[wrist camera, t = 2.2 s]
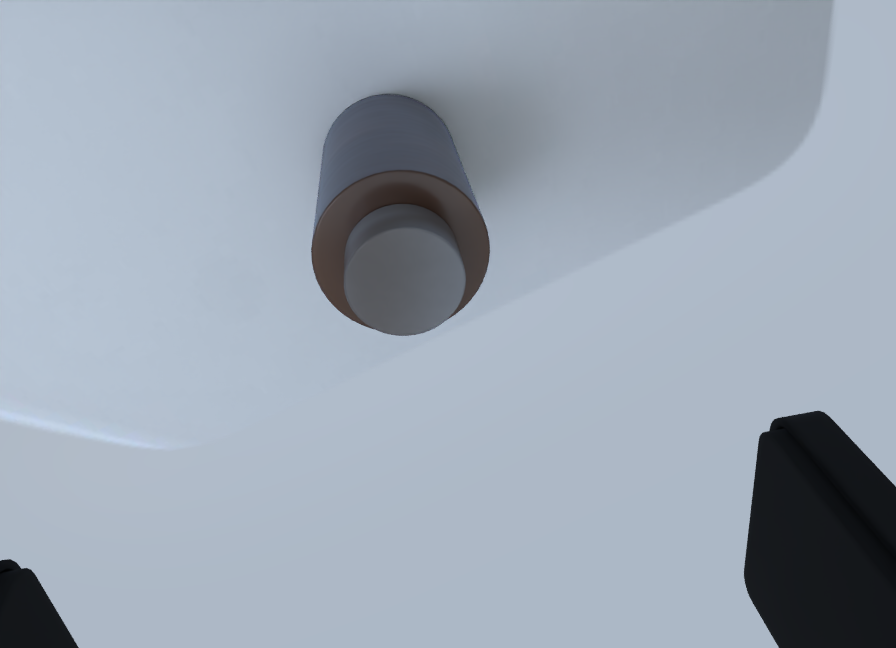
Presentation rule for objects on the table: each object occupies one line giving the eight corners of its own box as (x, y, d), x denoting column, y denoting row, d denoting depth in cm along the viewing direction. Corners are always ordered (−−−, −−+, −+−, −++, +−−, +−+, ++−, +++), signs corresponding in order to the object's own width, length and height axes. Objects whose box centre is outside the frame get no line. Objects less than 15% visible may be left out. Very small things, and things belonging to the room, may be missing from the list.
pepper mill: (446, 83, 24) (490, 177, 16) (462, 211, 26) (508, 348, 18) (309, 105, 24) (287, 210, 16) (337, 232, 26) (330, 378, 18)
